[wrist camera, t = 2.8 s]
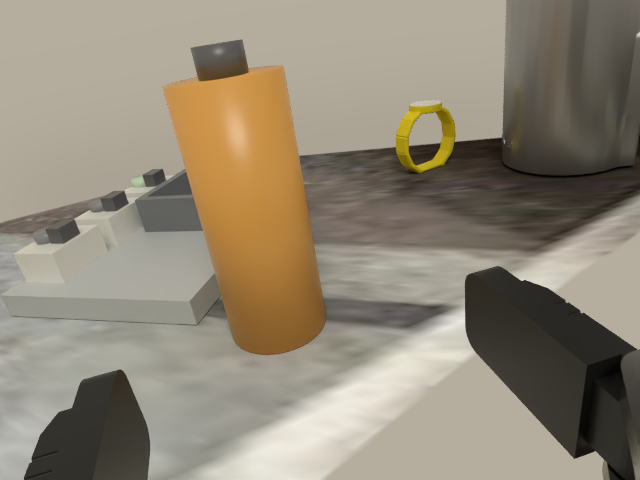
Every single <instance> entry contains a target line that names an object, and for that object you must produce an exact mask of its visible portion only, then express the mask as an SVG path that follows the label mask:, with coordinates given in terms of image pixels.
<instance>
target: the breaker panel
mask: <svg viewBox="0 0 640 480" xmlns="http://www.w3.org/2000/svg"><path fill="white" fill-rule="evenodd" d="M131 183H132V186H131V187H130V188H128V189H126V190H124V191H113V192H111V193H109V194H108V195H106V196H104V197H100V198H97V199H94V200H92V201H90V202H88V206H89V208H90V210H89V211H87V212H86V213H84V214H82V215H80V216H79V217H77V218H75V219H70V220H61V221H59V222H57V223H55V224H54V225H52V226H47V227H44V228H41V229H39V230H37V231H35V232H34V233H33V234H32V235H33V238H34V240H35V242H33V243H31V244H30V245H28V246H26V247H24V248H23V249H21V250H19V251H17V252H16V253H14V254H13V255H14V257H15V259H16V261H17V263H18V265H19V267H20V269H21V271H22V273H23V275H24V277H25V280H23V281H22V282H20V283H19V284H17V285H16V286H14V287H13V288H11V289H9V290H8V291H6V292H5V293H3V294H2V295H0V296H1V298H2V299H3V301H4V303H5V305H6V307H7V309H8V311H9V313H10V315H11V316H23V317H43V318H64V319H84V320H105V321H126V322H146V323H167V324H188V325H197V324H198V323H199V322H200V321H201V319H202V318H203V317H204V316H205V314H206V313H207V312H208V311H209V309H210V308H211V307H212V306H213V304H214V303H215V302H216V301H217V299H218V298H219V297H220V296H221V293H220V290H219V286H218V282H217V279H216V275H215V272H214V268H213V265H212V261H211V258H210V254H209V251H208V247H207V243H206V240H205V236H204V233H203V229H202V226H201V222H200V219H199V215H198V212H197V208H196V204H195V201H194V197H193V194H192V190H191V187H190V183H189V180H188V176H187V173H186V169H184V170H183V171H181V172H179V173H178V174H176V175H172V176H165V175H164V172H163V169H153V170H151V171H149V172H147V173H146V174H143V175H140V176H136V177H134V178H132V179H131Z"/></svg>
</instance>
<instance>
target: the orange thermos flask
mask: <svg viewBox="0 0 640 480" xmlns="http://www.w3.org/2000/svg"><path fill="white" fill-rule="evenodd" d="M191 52H192V56H193V60H194V64H195V68H196V72H197V76H198V77H196V78H191V79H187V80H182V81H179V82H175V83H171V84H168V85H165V86H163V91H164V94H165V98H166V102H167V105H168V109H169V112H170V115H171V119H172V123H173V126H174V129H175V134H176V137H177V141H178V144H179V147H180V151H181V154H182V158H183V162H184V165H185V169H186V173H187V176H188V180H189V183H190V187H191V190H192V194H193V197H194V201H195V204H196V208H197V212H198V215H199V219H200V222H201V226H202V229H203V233H204V236H205V240H206V243H207V247H208V251H209V254H210V258H211V261H212V265H213V268H214V272H215V275H216V279H217V282H218V286H219V290H220V293H221V297H222V300H223V304H224V307H225V311H226V314H227V318H228V321H229V325H230V328H231V332H232V336H233V339H234V341H235V343H236V344H237V345H238V346H239V347H240V348H242V349H243V350H245V351H248V352H251V353H255V354H266V355H269V354H279V353H284V352H288V351H291V350H294V349H297V348H299V347H301V346H303V345H305V344H307V343H308V342H310V341H311V340H313V339H314V338H315V337H316V336H317V335H318V334H319V333H320V332H321V330H322V329H323V327H324V325H325V322H326V313H325V307H324V302H323V296H322V290H321V284H320V278H319V272H318V266H317V260H316V254H315V248H314V242H313V237H312V231H311V225H310V219H309V213H308V207H307V201H306V195H305V189H304V183H303V178H302V172H301V166H300V160H299V154H298V148H297V142H296V137H295V131H294V125H293V119H292V113H291V107H290V101H289V95H288V90H287V83H286V77H285V72H284V67H283V66H265V67H256V68H248V65H247V60H246V55H245V50H244V45H243V40H235V41H229V42H223V43H216V44H211V45H205V46H198V47H193V48H191Z"/></svg>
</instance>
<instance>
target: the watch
mask: <svg viewBox="0 0 640 480" xmlns="http://www.w3.org/2000/svg"><path fill="white" fill-rule="evenodd" d="M434 112H436V114H437V115H438V117H439V119H440V121H441V123H442V132H443V138H442V141H441V145H440V149H439V151H438V152H437V154H436V156H435V157H434V159H433V160H431V161H428V162H426V163H423V164H420V165H418V166H416V165H414V164H413V162H412V159H411V157H410V155H409V145H408V144H409V143H408V142H409V140H408V138H409V135H410V132H411V129H412V127H413V124H414V123H415V121H416V120H417V119H418V118H419V117H420V115H421V114H427V113H434ZM396 135H397V136H396V152H397V155H398V158H399V160H400V162H401V164H402V165H403V166H404V167H406V168H407V169H409V170H410V171H413V172H417V173H422V172H425V171H427V170H430V169H433V168H436V167H439V166H441V165H442V166H443V165H444V164H445V162H446V161H447V159H448V157H449V156H450V154H451V152H452V149H453V145H454V142H455V123H454V120H453V118H452V116H451V115H450V113H449V111H448V110H447V109H445V108H443V107H442V102H441V101H437V100H428V101H419V102H414V103H411V104H410V105H409V112H408V113H407V114H406V115H405V116H404V118H403V119H402V121H401V123H400V126H399V128H398V131H397V134H396Z"/></svg>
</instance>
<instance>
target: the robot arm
mask: <svg viewBox="0 0 640 480" xmlns="http://www.w3.org/2000/svg"><path fill="white" fill-rule="evenodd" d="M504 68H505V69H504V104H503V135H502V144H503V147H502V161H503V163H504V164H505V165H507V166H508V167H510V168H513V169H515V170H518V171H523V172H527V173H534V174H542V175H581V174H589V173H596V172H601V171H606V170H609V169H612V168H615V167H619V166H632V165H635V159H636V153H637V146H638V140H639V133H640V0H506V32H505V67H504ZM465 326H466V333H467V337H468V339H469V342H470V344H471V346H472V348H473V349H474V351H475V352H476V353H477V354H478V355H479V356H480V357H481V358H482V360H483V361H484V362H485V363H486V364H487V365H488V366H489V367H490V368H491V369H492V370H493V371H494V372H495V374H496V375H497V376H498V377H499V378H500V379H501V380H502V381H503V382H504V383H505V384H506V385H507V386H508V388H509V389H510V390H511V391H512V392H513V393H514V394H515V395H516V396H517V397H518V398H519V400H521V402H522V403H523V404H524V405H525V406H526V407H527V408H528V409H529V410H530V411H531V412H532V414H533V415H534V416H535V417H536V418H537V419H538V420H539V421H540V422H541V423H542V424H543V425H544V427H545V428H546V429H547V430H548V431H549V432H550V433H551V434H552V435H553V436H554V437H555V438H556V440H557V441H558V442H559V443H560V444H561V445H562V446H563V447H564V448H565V449H566V450H567V451H568V452H569V454H570V455H571V456H572V457H573V458H574V459H575V458H578V457H581V456H584V455H586V454H589V453H592V452H594V451H596V452H597V453H598V454H599V455H600V456H601V457H602V458H603V459H604V462H603V478H604V480H640V350H637V349H636V348H634V347H633V346H631V345H630V344H628V343H627V342H625V341H624V340H622V339H621V338H620V337H618V336H617V335H615V334H614V333H612V332H611V331H609V330H608V329H607V328H605V327H604V326H602V325H601V324H599V323H598V322H596V321H595V320H593V319H592V318H590V317H589V316H588V315H586V314H585V313H582V314H581V313H580V310H579V309H577V308H576V307H574V306H573V305H571V304H570V303H566V302H565V300H564V299H563V298H561V297H560V296H558V295H557V294H555V293H554V292H552V291H551V290H550V289H548V288H546V287H543V286H540V285H537V284H534V283H532V282H529V281H526V280H524V281H520V280H519V279H518V278H516V277H515V276H513V275H512V274H511V273H509V272H508V271H506V270H505V269H504V268H502V267H499V266H497V267H493V268H489V269H486V270H482V271H478V272H475V273H471V274H469V275H467V277H466V280H465ZM149 457H150V439H149V433H148V428H147V424H146V421H145V419H144V417H143V414H142V412H141V410H140V407H139V405H138V402H137V400H136V398H135V395H134V393H133V391H132V388H131V386H130V384H129V381H128V379H127V377H126V375H125V373H124V372H123V371H122V370H116V371H113V372H109V373H105V374H102V375H98V376H95V377H91V378H87V379H84V380H82V381H81V383H80V385H79V388H78V391H77V395H76V398H75V401H74V404H73V407H72V408H71V409H68V410H64V411H61V412H59V413H58V414H57V415H56V416H55V417H54V419H53V420H52V421H51V422H50V424H49V425H48V426H47V427H46V429H45V430H44V431H43V432H42V434H41V435H40V437H39V440H38V442H37V445H36V448H35V450H34V453H33V456H32V458H31V459H32V463H29V466H28V469H27V471H26V474H25V476H24V480H147V478H148V467H149Z"/></svg>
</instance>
